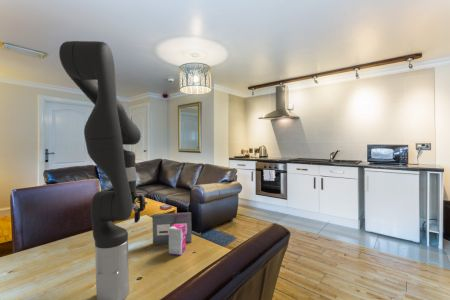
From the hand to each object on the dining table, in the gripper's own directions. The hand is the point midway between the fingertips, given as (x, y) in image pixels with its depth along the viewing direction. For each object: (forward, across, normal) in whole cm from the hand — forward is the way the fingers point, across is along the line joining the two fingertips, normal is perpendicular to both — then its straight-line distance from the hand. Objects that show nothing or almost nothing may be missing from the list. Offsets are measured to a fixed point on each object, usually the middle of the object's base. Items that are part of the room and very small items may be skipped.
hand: (125, 221), depth 85 cm
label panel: (+18, +13, +23) cm, 32 cm away
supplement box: (+18, +17, +14) cm, 29 cm away
